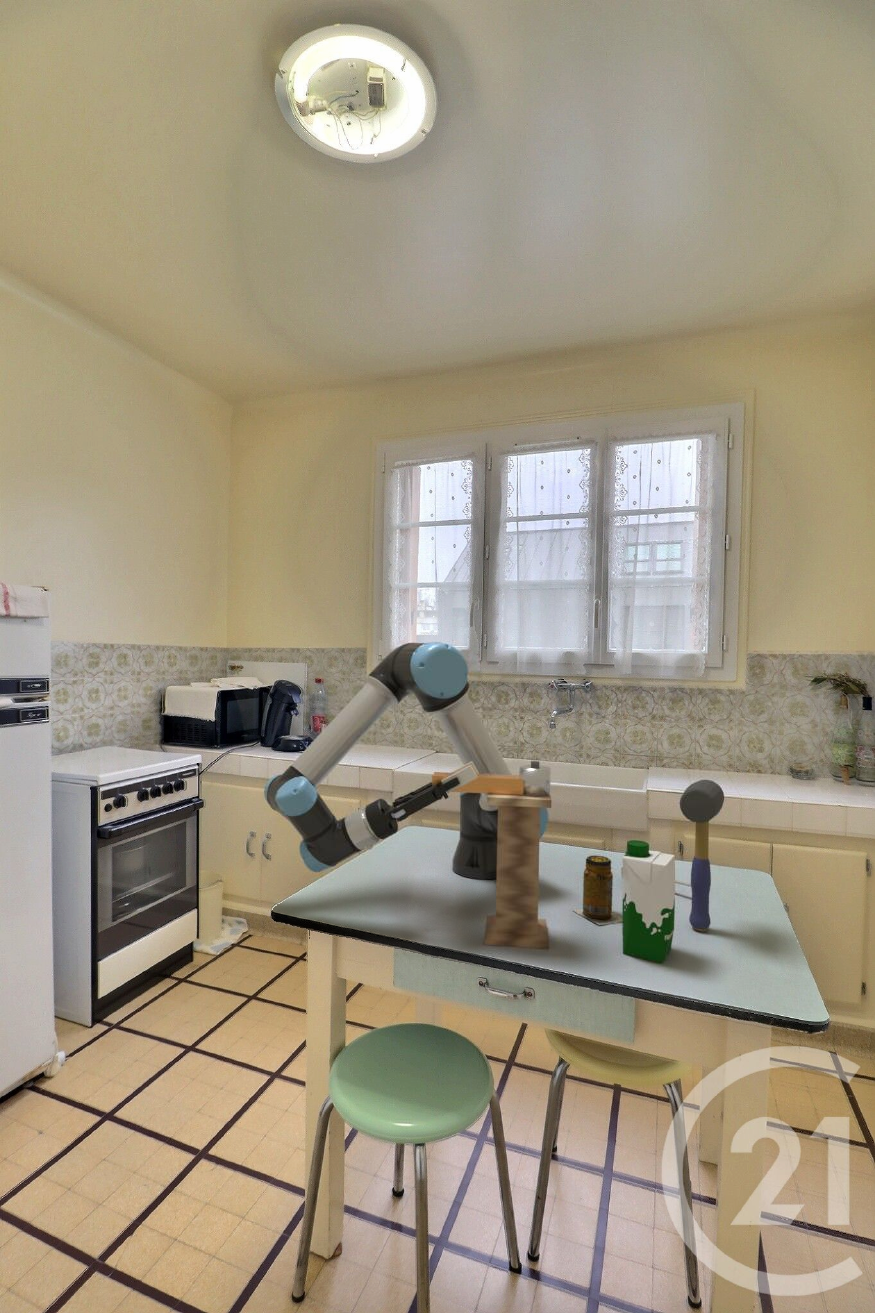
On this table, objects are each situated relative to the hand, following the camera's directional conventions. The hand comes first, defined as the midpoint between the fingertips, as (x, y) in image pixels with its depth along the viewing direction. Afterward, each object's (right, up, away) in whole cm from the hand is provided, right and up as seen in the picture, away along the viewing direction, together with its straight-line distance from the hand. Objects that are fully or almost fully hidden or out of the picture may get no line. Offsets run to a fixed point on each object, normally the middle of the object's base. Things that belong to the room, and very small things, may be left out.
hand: (474, 769), depth 129 cm
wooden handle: (+2, -4, 0) cm, 5 cm away
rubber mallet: (+46, -33, +4) cm, 57 cm away
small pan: (+45, -33, +26) cm, 62 cm away
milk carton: (+32, -33, -7) cm, 47 cm away
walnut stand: (+8, -32, -1) cm, 33 cm away
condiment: (+27, -33, +10) cm, 44 cm away
